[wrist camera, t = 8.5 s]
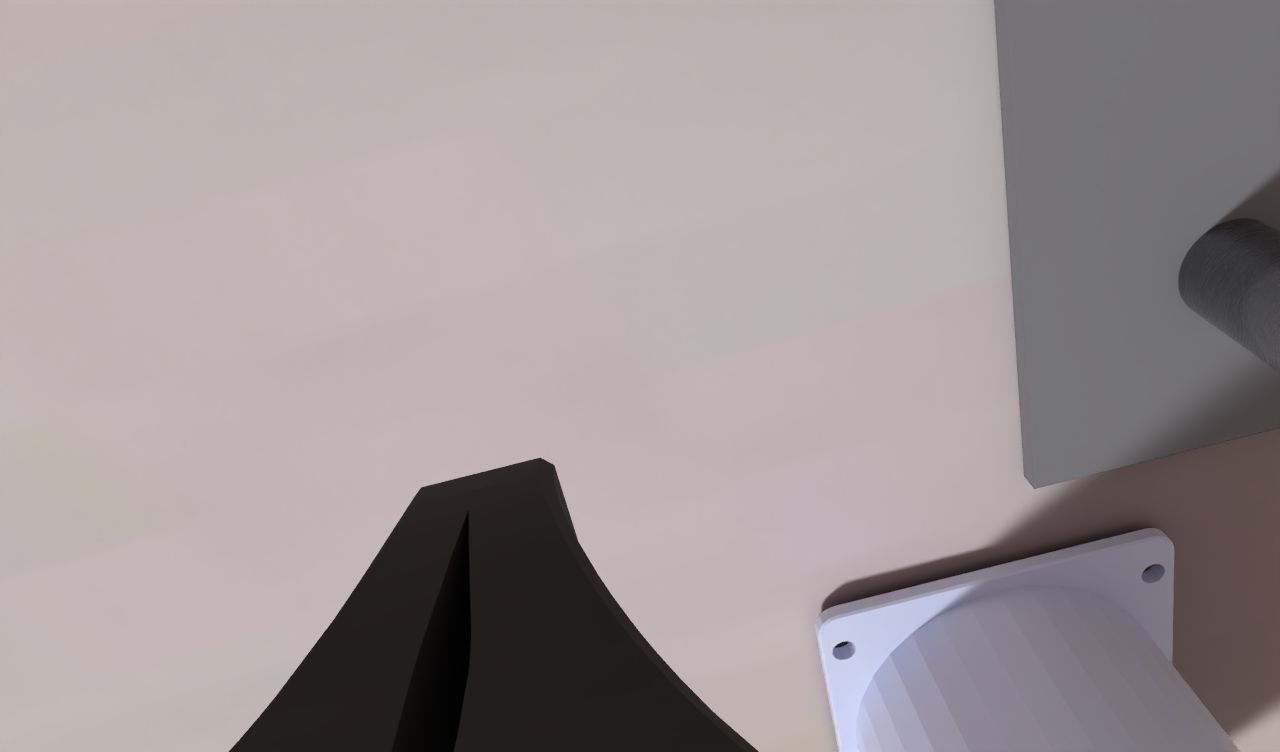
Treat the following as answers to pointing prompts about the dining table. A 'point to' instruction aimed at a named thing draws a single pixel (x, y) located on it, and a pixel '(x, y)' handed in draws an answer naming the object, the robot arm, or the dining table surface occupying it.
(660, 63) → the dining table surface
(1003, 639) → the robot arm
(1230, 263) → the hinge post
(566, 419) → the dining table surface
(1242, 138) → the mat
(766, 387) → the dining table surface
